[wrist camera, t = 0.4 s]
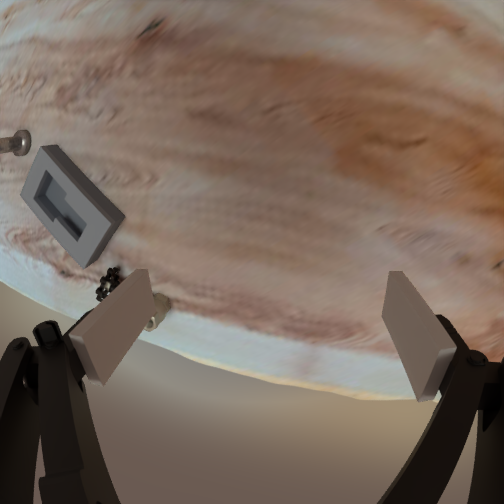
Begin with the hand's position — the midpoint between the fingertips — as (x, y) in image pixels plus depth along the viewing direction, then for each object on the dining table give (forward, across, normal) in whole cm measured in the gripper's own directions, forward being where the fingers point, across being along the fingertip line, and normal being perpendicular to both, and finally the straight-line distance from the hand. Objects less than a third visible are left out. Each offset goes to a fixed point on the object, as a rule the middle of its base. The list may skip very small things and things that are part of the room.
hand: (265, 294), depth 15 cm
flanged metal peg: (+28, -49, +15) cm, 58 cm away
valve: (+28, -24, -15) cm, 40 cm away
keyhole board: (+28, -36, +2) cm, 45 cm away
